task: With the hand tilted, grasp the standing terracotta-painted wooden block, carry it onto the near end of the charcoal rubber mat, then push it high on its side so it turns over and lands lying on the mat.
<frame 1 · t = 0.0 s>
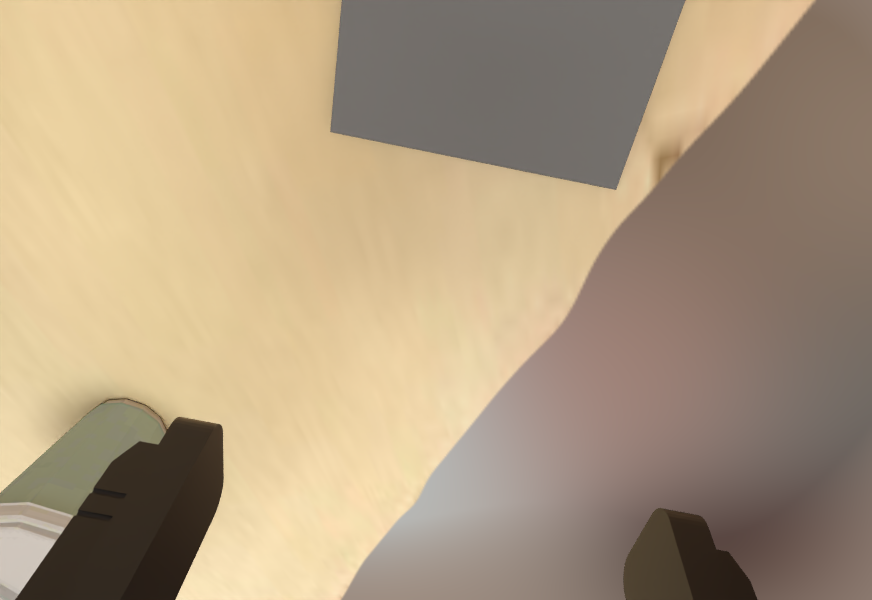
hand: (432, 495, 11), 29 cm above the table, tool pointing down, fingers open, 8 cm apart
disposable coffee cup: (135, 422, 53), on the table
charcoal mat: (507, 10, 33), on the table
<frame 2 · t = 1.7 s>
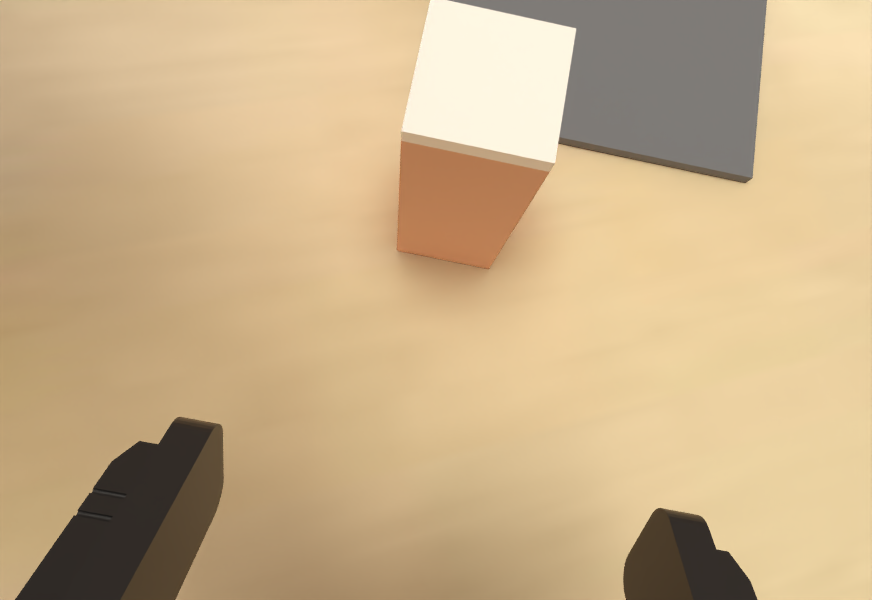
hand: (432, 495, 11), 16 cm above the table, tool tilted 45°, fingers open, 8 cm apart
terracotta block: (451, 216, 29), on the table
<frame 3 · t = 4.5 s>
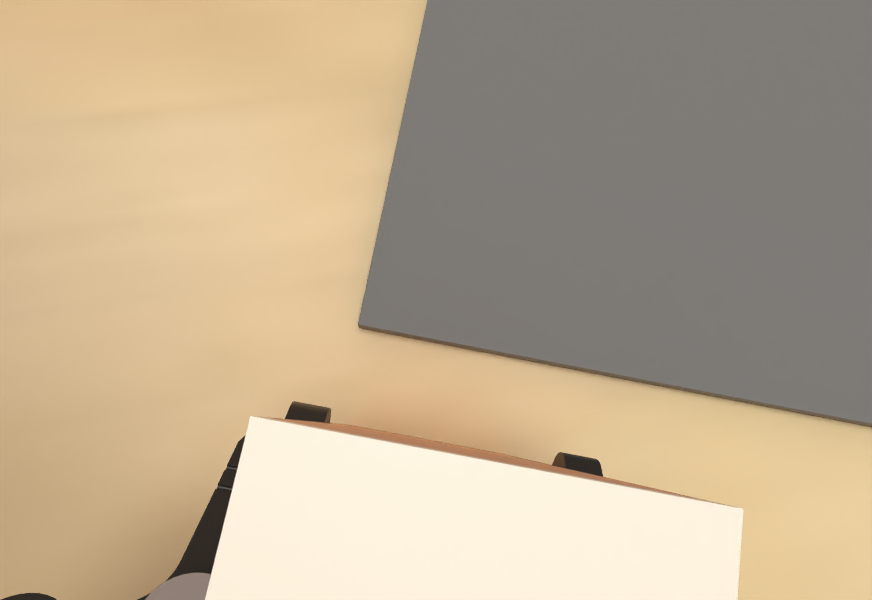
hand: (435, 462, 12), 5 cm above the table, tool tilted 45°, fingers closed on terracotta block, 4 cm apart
terracotta block: (410, 522, 17), on the table, touching gripper
charcoal mat: (670, 111, 20), on the table
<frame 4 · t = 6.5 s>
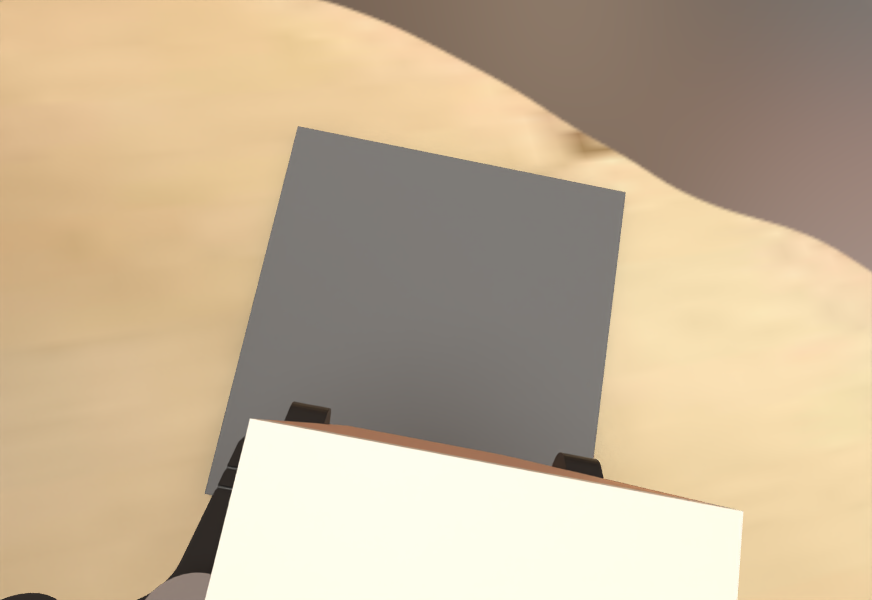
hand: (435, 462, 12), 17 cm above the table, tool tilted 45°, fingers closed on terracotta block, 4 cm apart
terracotta block: (410, 522, 17), point 11 cm above the table, touching gripper
charcoal mat: (430, 333, 29), on the table
when the fingers open (7 cm above the table, at t = 8.6 s): terracotta block stays where it is, resting on charcoal mat.
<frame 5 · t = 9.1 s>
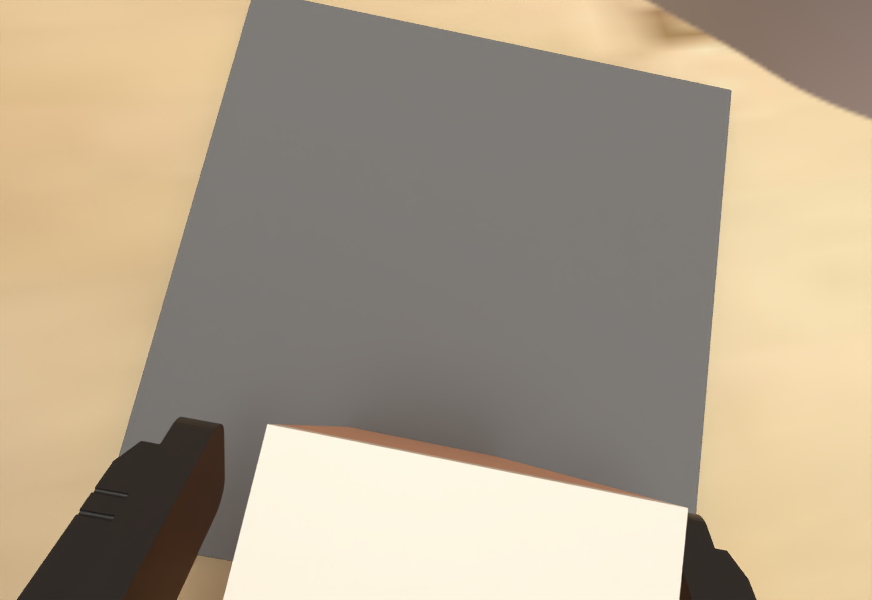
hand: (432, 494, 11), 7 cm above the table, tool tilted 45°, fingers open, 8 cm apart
terracotta block: (407, 519, 18), point 1 cm above the table, touching charcoal mat
charcoal mat: (448, 291, 20), on the table
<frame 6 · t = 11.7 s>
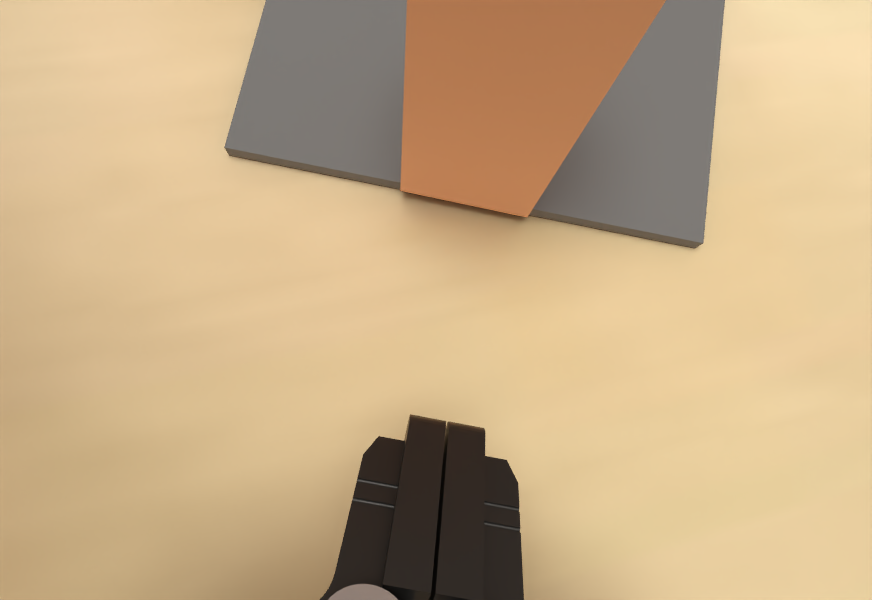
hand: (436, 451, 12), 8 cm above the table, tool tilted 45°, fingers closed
terracotta block: (475, 145, 21), point 1 cm above the table, touching charcoal mat
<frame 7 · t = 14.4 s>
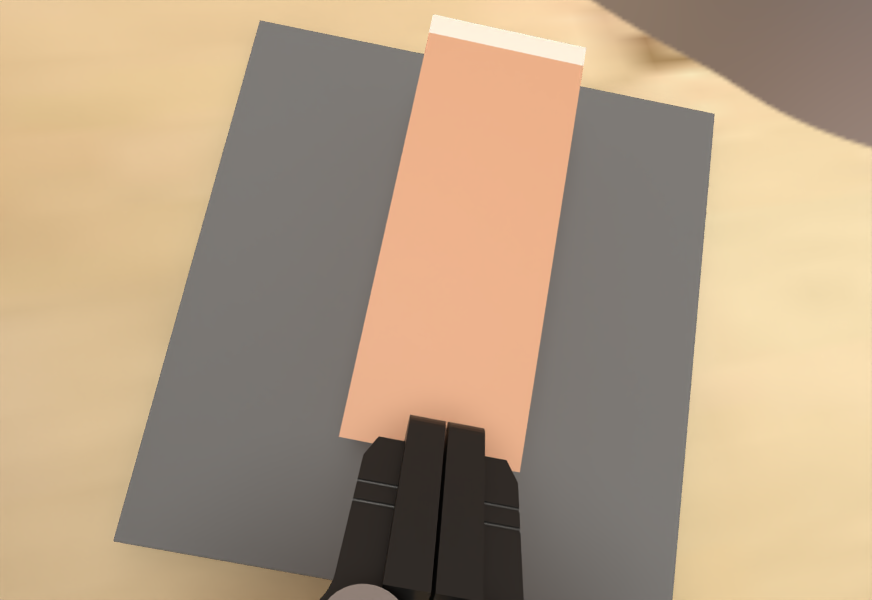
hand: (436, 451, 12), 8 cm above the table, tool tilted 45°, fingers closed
terracotta block: (424, 451, 17), point 3 cm above the table, tilted 90°, touching charcoal mat
charcoal mat: (445, 307, 21), on the table
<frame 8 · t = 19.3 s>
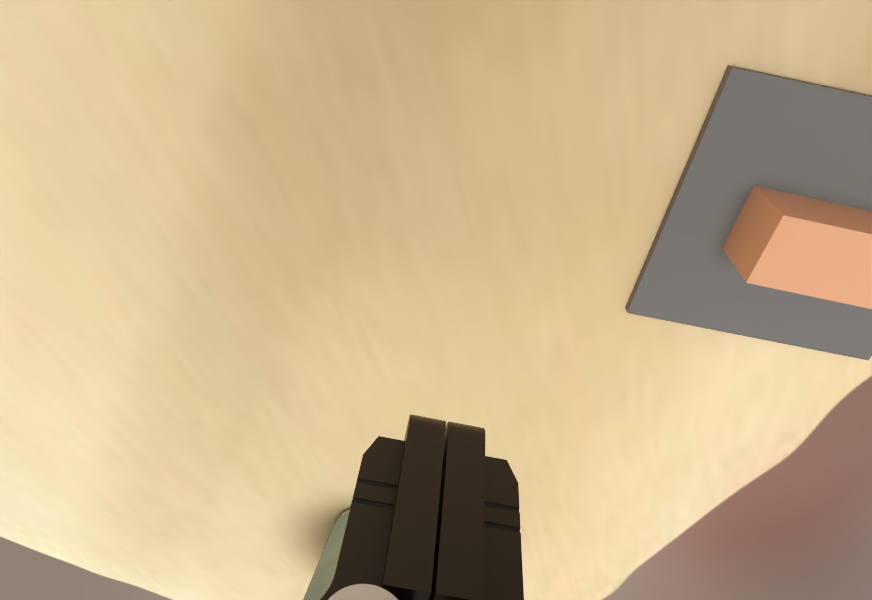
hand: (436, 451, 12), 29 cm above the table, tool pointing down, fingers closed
disposable coffee cup: (372, 523, 59), on the table
terracotta block: (750, 233, 37), point 3 cm above the table, tilted 90°, touching charcoal mat
charcoal mat: (804, 228, 39), on the table
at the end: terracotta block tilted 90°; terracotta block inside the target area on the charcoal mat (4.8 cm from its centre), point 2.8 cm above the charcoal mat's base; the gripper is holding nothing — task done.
